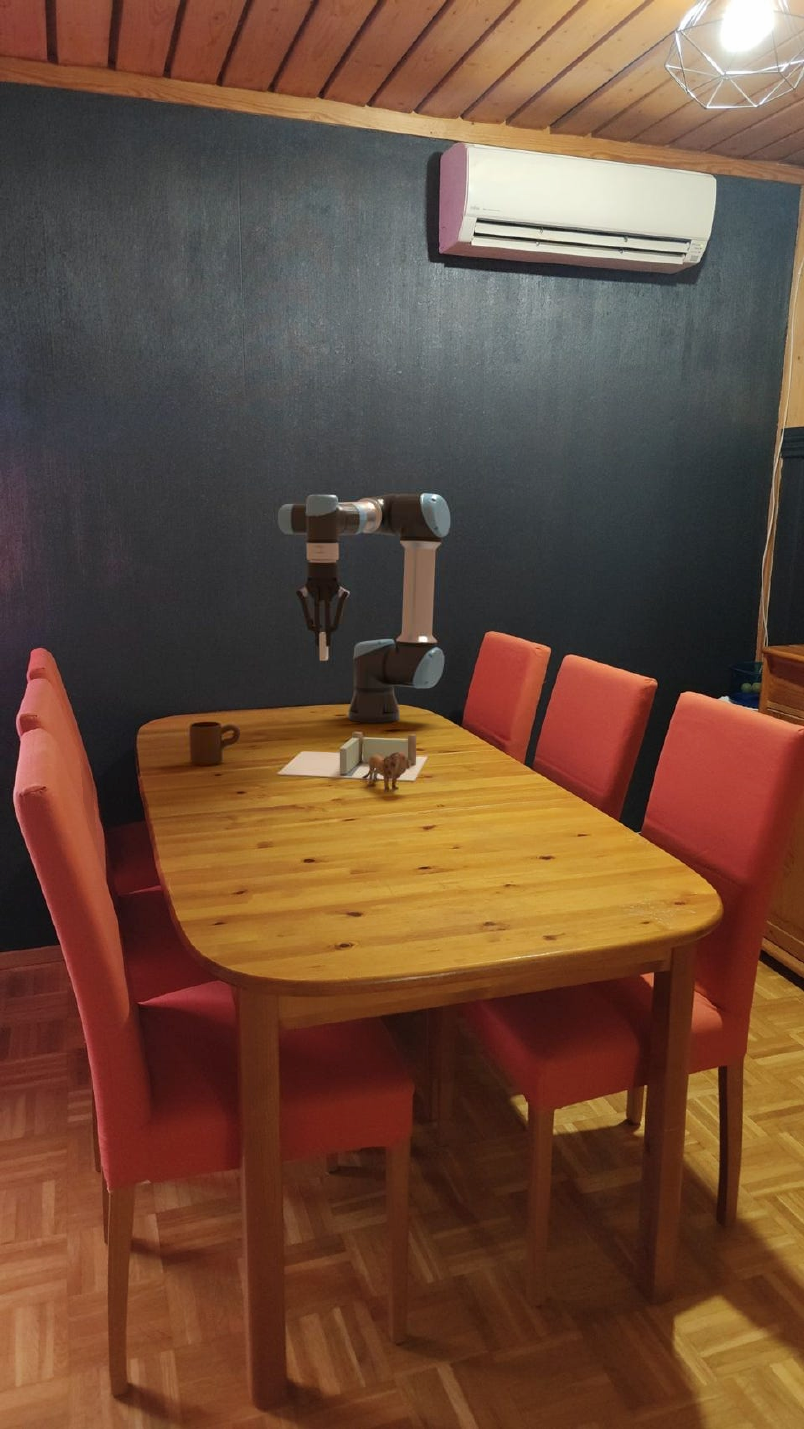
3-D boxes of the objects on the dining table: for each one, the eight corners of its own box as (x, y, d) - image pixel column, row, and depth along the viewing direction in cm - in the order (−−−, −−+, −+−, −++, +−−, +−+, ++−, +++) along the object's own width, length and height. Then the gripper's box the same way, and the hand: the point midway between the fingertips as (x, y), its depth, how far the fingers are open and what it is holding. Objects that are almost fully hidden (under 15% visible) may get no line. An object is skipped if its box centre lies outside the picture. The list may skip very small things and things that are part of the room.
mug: (240, 757, 238) (239, 719, 236) (241, 764, 231) (240, 726, 229) (190, 759, 236) (189, 721, 234) (190, 767, 228) (188, 728, 226)
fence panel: (339, 773, 221) (339, 748, 219) (352, 761, 231) (352, 737, 230) (346, 774, 220) (346, 748, 219) (359, 762, 231) (359, 738, 230)
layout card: (302, 752, 243) (302, 751, 243) (427, 757, 238) (427, 756, 238) (276, 775, 222) (276, 773, 222) (414, 781, 217) (414, 780, 216)
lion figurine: (414, 791, 209) (415, 751, 207) (396, 796, 205) (396, 755, 204) (371, 778, 220) (371, 739, 218) (353, 782, 216) (352, 743, 214)
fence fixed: (353, 760, 234) (353, 731, 232) (416, 763, 231) (417, 734, 230) (351, 762, 232) (351, 733, 230) (415, 765, 229) (415, 736, 228)
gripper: (291, 561, 226) (293, 661, 230) (346, 562, 223) (346, 662, 228) (300, 560, 233) (302, 656, 238) (353, 560, 231) (353, 658, 236)
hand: (324, 659), depth 233 cm, fingers closed
